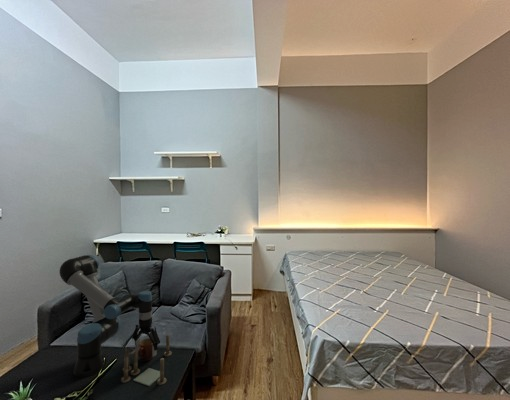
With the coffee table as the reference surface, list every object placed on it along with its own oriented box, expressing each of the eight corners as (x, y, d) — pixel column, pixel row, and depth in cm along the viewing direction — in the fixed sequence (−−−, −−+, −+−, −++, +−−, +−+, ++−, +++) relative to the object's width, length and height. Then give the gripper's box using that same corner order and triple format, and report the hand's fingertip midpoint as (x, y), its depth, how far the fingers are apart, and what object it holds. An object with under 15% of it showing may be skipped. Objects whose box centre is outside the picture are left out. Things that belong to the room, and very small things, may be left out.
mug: (144, 353, 169) (144, 337, 169) (157, 355, 167) (157, 339, 167) (132, 365, 157) (132, 347, 157) (145, 367, 155) (145, 349, 155)
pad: (133, 380, 143) (133, 379, 143) (149, 368, 153) (149, 367, 153) (149, 386, 139) (149, 385, 139) (164, 373, 149) (164, 372, 149)
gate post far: (162, 355, 167) (162, 336, 167) (167, 351, 171) (167, 332, 171) (168, 357, 165) (168, 337, 165) (173, 352, 170) (173, 334, 170)
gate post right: (155, 383, 141) (155, 360, 141) (161, 377, 146) (161, 355, 146) (162, 385, 139) (162, 362, 139) (168, 380, 144) (168, 357, 144)
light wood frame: (110, 377, 145) (110, 354, 145) (127, 366, 156) (127, 344, 156) (125, 383, 141) (125, 359, 141) (142, 371, 151) (142, 348, 151)
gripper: (125, 317, 163) (125, 351, 163) (156, 323, 153) (157, 361, 153) (135, 312, 170) (135, 345, 170) (166, 318, 160) (166, 354, 160)
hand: (145, 353), depth 162 cm, fingers open, 13 cm apart
